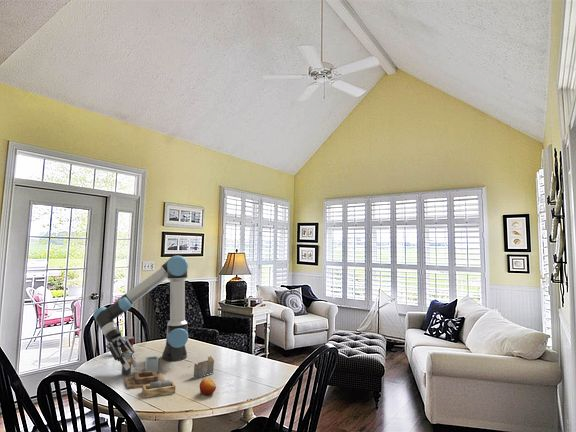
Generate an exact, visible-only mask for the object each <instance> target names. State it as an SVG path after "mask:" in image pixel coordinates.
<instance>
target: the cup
mask: <svg viewBox="0 0 576 432" xmlns="http://www.w3.org/2000/svg"><path fill="white" fill-rule="evenodd" d="M144 362H145V364H144V371H152V370H155V371H156V373H158V370H159V358H158V356H156V355H155V356H146V357H145V361H144Z"/></svg>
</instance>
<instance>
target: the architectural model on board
mask: <svg viewBox="0 0 576 432" xmlns="http://www.w3.org/2000/svg"><path fill="white" fill-rule="evenodd" d="M193 364H194V367H193V378H194V377H195V378H194V379H196V378H197V379H199V378H198V377H200V378H202V377H201V376H204V375H207V374H210V373H213V374H214V367H215V360H214V358H213V357H212V355H210V356H207V360H203V361H200V362H197V363H193ZM210 375H211V374H210ZM207 376H208V375H207ZM204 377H205V376H204Z"/></svg>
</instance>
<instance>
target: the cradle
mask: <svg viewBox="0 0 576 432" xmlns="http://www.w3.org/2000/svg"><path fill="white" fill-rule="evenodd" d="M132 375H133V376H127V377H124V381H125V385H126V390H132V389H137V388H143V385H148V384H150V382H157V381H165V380H166V379H165V378H164V376H163V374H162V372H159V373H158V372H156V371H155V370H152V371H145V370H143V371H136V372H133V374H132Z"/></svg>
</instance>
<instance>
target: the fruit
mask: <svg viewBox="0 0 576 432" xmlns="http://www.w3.org/2000/svg"><path fill="white" fill-rule="evenodd" d="M216 385H217V384H216V382H215V381H214V380H213V379H212V378H205V377H204V378H203V379H202V380H201V381H200V384H199V392H200V394H199V396H201V395H205V396H211V395H213V393H215V391H216V389H217V386H216Z"/></svg>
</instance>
